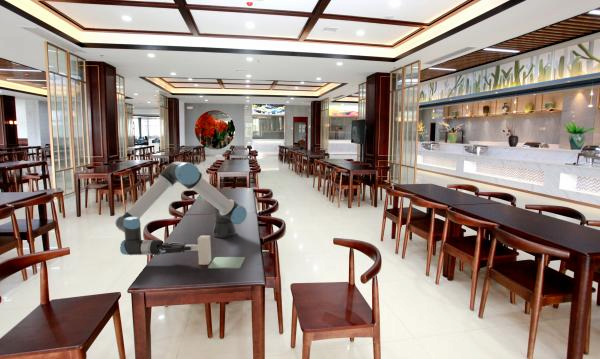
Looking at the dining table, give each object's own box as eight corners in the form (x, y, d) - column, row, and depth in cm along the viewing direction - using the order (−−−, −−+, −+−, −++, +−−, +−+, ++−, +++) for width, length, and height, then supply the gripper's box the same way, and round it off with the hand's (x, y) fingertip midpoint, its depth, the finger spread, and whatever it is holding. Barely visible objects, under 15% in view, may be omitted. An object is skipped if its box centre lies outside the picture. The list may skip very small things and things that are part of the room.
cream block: (201, 261, 182) (200, 235, 180) (211, 261, 182) (210, 235, 180) (198, 264, 177) (197, 238, 175) (208, 264, 177) (207, 238, 175)
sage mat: (215, 258, 187) (215, 257, 186) (244, 258, 186) (244, 257, 186) (208, 268, 173) (207, 267, 173) (240, 268, 172) (239, 267, 172)
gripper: (158, 250, 186) (202, 250, 185) (147, 259, 173) (194, 259, 172) (157, 236, 185) (201, 236, 184) (146, 244, 172) (193, 244, 171)
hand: (197, 247), depth 178 cm, fingers closed
